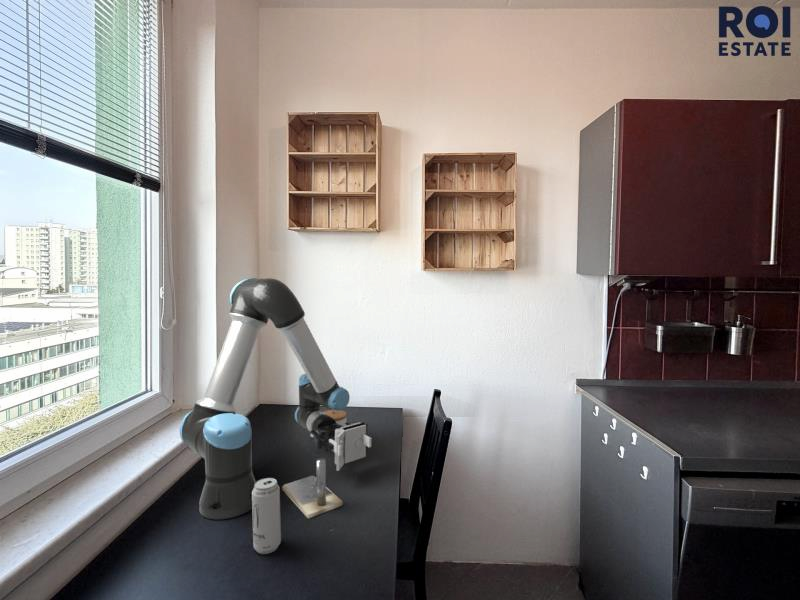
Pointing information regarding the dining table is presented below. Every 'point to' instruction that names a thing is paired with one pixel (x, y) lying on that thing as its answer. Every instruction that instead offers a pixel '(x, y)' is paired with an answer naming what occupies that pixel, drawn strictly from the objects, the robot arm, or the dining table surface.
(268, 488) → the energy drink can
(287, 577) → the dining table surface
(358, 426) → the hinge
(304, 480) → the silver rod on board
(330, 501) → the mounting board
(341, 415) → the lidded jar
